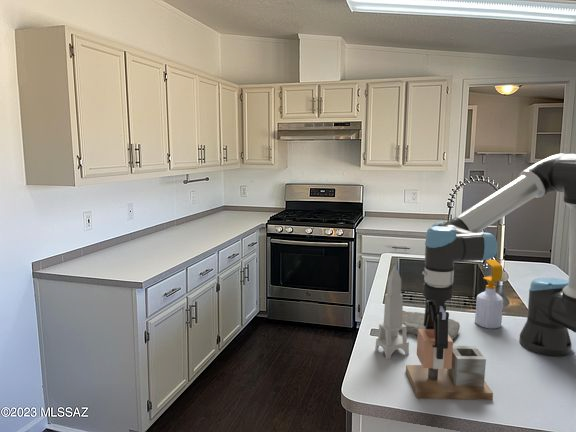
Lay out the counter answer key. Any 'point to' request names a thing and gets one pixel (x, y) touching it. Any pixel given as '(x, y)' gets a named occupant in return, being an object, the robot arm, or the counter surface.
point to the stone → (416, 322)
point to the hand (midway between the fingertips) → (433, 360)
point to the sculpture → (393, 318)
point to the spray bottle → (490, 300)
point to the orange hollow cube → (431, 349)
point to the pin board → (443, 386)
